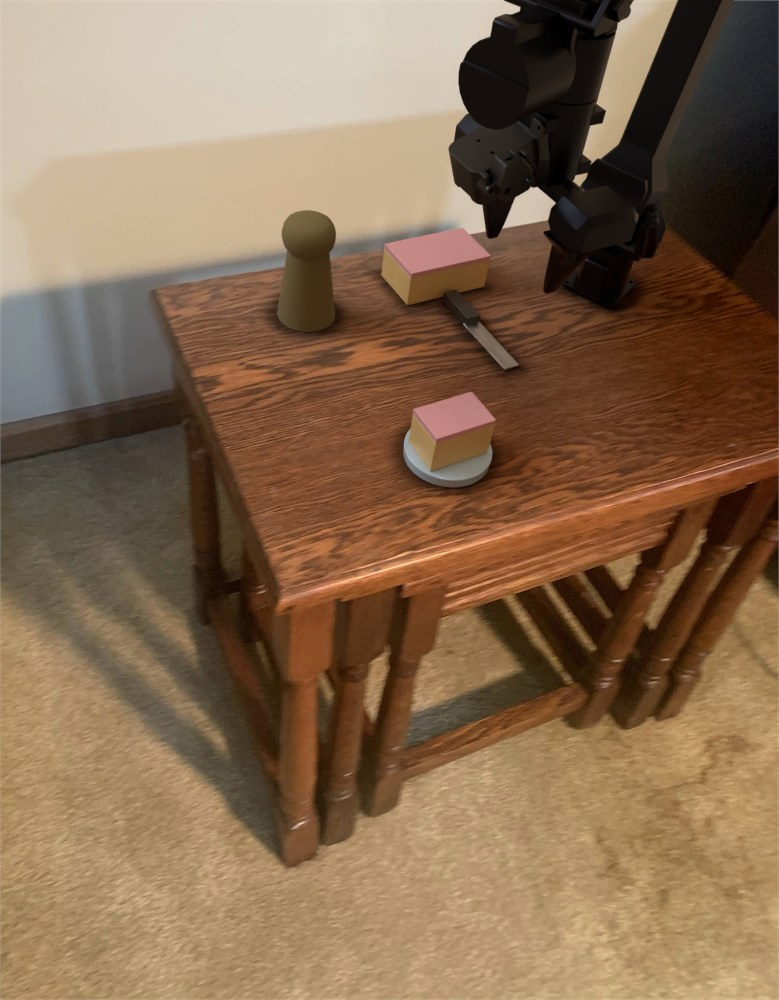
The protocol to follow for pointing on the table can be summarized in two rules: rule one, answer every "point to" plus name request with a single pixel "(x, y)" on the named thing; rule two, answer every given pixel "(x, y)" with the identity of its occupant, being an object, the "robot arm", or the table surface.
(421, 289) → the cake
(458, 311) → the knife
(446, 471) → the plate
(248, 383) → the table surface
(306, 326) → the pepper mill
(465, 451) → the cake slice
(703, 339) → the table surface
